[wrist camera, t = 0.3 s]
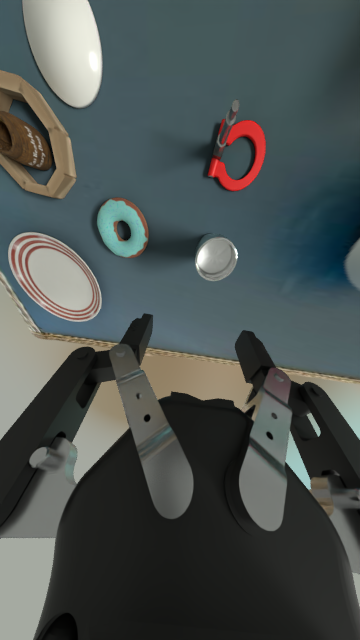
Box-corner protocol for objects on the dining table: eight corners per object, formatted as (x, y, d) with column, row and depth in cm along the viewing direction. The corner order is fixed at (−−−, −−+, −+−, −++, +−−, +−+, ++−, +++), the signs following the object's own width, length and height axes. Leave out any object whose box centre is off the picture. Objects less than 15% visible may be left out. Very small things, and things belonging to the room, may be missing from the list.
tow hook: (273, 134, 23) (223, 113, 23) (338, 65, 13) (250, 22, 12) (247, 197, 28) (205, 182, 28) (279, 183, 18) (213, 159, 17)
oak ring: (-21, 74, 23) (-47, 56, 21) (63, 98, 23) (47, 84, 21) (19, 187, 31) (4, 184, 29) (80, 204, 32) (71, 202, 29)
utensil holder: (26, 162, 29) (-63, 130, 19) (18, 116, 25) (-96, 47, 15) (55, 178, 30) (-15, 155, 20) (52, 135, 26) (-36, 82, 16)
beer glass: (211, 267, 37) (218, 289, 24) (190, 252, 35) (185, 268, 23) (230, 242, 33) (248, 253, 21) (206, 224, 31) (212, 224, 19)
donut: (93, 217, 33) (82, 216, 30) (131, 186, 29) (122, 181, 26) (124, 264, 39) (117, 267, 36) (159, 243, 35) (155, 245, 32)
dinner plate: (-2, 250, 41) (-17, 252, 38) (63, 215, 34) (52, 214, 31) (65, 322, 55) (59, 327, 52) (122, 308, 48) (117, 313, 45)
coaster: (11, -52, 17) (6, -60, 17) (97, -24, 18) (94, -31, 17) (43, 98, 24) (40, 96, 23) (106, 116, 24) (104, 114, 24)
